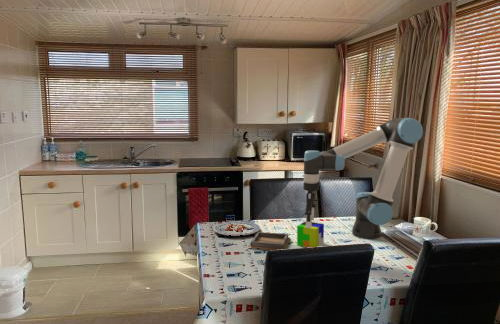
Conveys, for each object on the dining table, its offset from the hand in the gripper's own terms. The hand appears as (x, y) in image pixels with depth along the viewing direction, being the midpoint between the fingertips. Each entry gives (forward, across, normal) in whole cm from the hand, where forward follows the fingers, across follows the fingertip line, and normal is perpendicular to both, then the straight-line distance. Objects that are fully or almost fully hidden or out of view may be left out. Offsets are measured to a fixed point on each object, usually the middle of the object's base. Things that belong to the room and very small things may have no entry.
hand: (309, 223), depth 192 cm
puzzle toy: (+11, 0, +1) cm, 11 cm away
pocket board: (+11, +4, -19) cm, 23 cm away
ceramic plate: (+12, -12, -41) cm, 45 cm away
